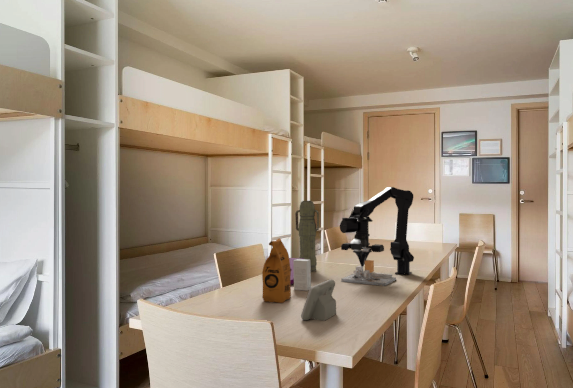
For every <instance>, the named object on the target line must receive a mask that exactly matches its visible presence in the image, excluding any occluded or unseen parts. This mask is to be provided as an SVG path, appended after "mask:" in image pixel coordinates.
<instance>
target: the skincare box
mask: <svg viewBox="0 0 573 388" xmlns="http://www.w3.org/2000/svg"><path fill="white" fill-rule="evenodd" d="M293 263H294V283H293V290H295V291H306V292H307V291H308V292H309V290H310V288H311V287H312V285H311V284H312V275H311V273H312V271H311V263H310V260H306V259H296V260H294V261H293Z"/></svg>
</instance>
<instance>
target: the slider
mask: <svg viewBox="0 0 573 388" xmlns="http://www.w3.org/2000/svg"><path fill="white" fill-rule="evenodd" d="M374 262H375V260H373V259H366V261H365V264H364V270H363V271H364V278H366V274H367V273H369V272H370V273H371V272H374V271H375V263H374Z"/></svg>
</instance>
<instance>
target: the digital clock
mask: <svg viewBox="0 0 573 388" xmlns="http://www.w3.org/2000/svg"><path fill="white" fill-rule="evenodd" d="M335 287H336V281H335V280H334V279H328V280H324V281H322V282H320V283H318V284H315V285H313V286H311V288H310V290H308V293H307V297H306V299H305V302H304V305H303V308H302V311H301V315H300V318H301V319H302V321H308V320H310V319H311V320H315V321H323V322H325V321H326V320H328V319H330V318H331V317H333V316H335V315H336V314H337V301H336V299H335V298H334V296H333V292H334V290H335Z"/></svg>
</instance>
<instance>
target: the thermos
mask: <svg viewBox="0 0 573 388" xmlns="http://www.w3.org/2000/svg"><path fill="white" fill-rule="evenodd" d="M315 208H316V206H315V204H314V201H312V200H302V201H300V204H299V210H296V212H295V214H294V215H295V229H296V231H297V232H298V238H299V257H298V258H304V259H306V260H310V263H311V272H316V271H317V265H318V264H317V256H316V236H317V232H318V231H319V230H320V221H319V219H320V216H319V215H320V213H319V211H318V210H317V209H315ZM315 214H316V215H315ZM315 216H316V221H315Z"/></svg>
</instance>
